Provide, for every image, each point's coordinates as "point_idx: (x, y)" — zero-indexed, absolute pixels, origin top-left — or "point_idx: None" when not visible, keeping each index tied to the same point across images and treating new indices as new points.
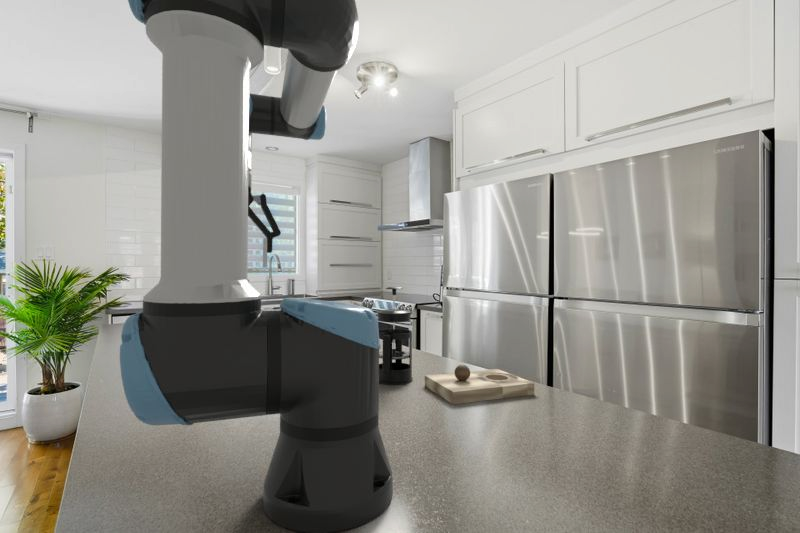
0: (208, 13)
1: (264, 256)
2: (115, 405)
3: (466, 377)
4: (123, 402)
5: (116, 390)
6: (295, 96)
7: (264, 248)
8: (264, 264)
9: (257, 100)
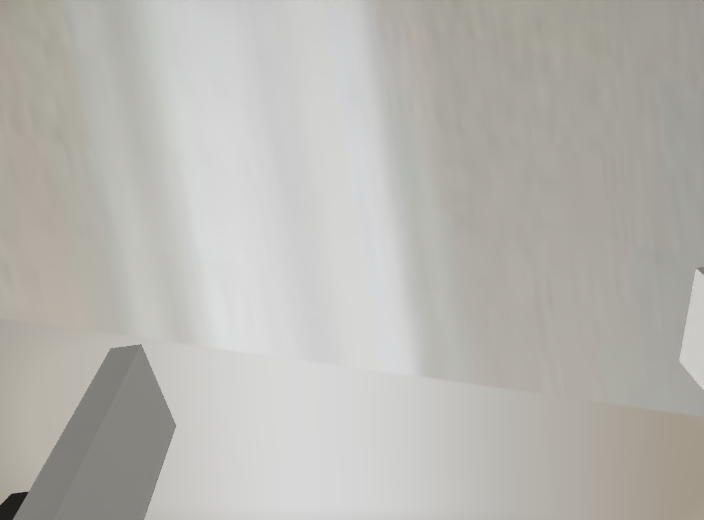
0: None
1: (92, 419)
2: (686, 22)
3: None
4: (668, 50)
5: (699, 186)
6: None
7: (54, 500)
8: (122, 361)
9: None
